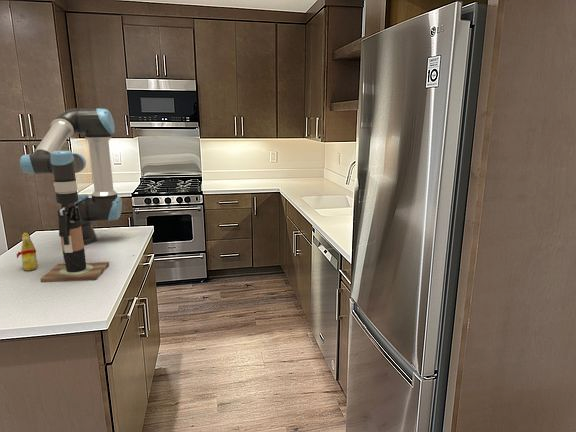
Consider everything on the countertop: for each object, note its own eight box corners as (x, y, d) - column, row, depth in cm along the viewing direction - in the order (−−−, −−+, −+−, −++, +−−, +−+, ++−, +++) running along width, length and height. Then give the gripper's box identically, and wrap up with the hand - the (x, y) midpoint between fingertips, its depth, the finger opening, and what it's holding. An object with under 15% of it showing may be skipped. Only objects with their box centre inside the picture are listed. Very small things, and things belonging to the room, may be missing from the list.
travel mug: (78, 273, 158) (71, 224, 153) (61, 271, 160) (53, 222, 154) (91, 266, 165) (84, 218, 160) (74, 264, 167) (67, 217, 162)
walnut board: (59, 267, 170) (58, 263, 169) (109, 265, 172) (108, 261, 171) (40, 282, 154) (40, 277, 154) (96, 279, 156) (95, 275, 156)
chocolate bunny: (38, 262, 176) (33, 228, 172) (37, 270, 166) (32, 235, 163) (19, 264, 172) (14, 230, 169) (17, 273, 163) (11, 237, 159)
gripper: (67, 187, 165) (74, 240, 170) (42, 197, 144) (51, 257, 150) (87, 187, 166) (93, 240, 171) (65, 197, 145) (72, 257, 150)
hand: (73, 248), depth 160 cm, fingers open, 9 cm apart
